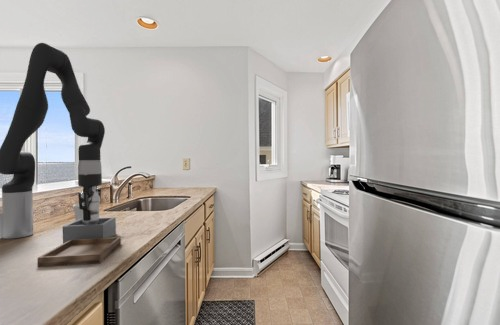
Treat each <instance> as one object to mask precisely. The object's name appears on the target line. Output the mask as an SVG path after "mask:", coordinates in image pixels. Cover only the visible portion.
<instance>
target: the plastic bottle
mask: <svg viewBox="0 0 500 325" xmlns="http://www.w3.org/2000/svg"><path fill="white" fill-rule="evenodd" d="M92 190H93V191H95V195H94V196H93V203H92V204H91V209H90V210H91V220H89V221H84V220H83V210H82V225H96V224H100V220H99V218H100V206H101V204H100V196H99V195H98V193H97V192H96V186H93V187H92ZM90 200H91V197H90V198H88V201H90ZM82 205H83V203H82Z"/></svg>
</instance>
